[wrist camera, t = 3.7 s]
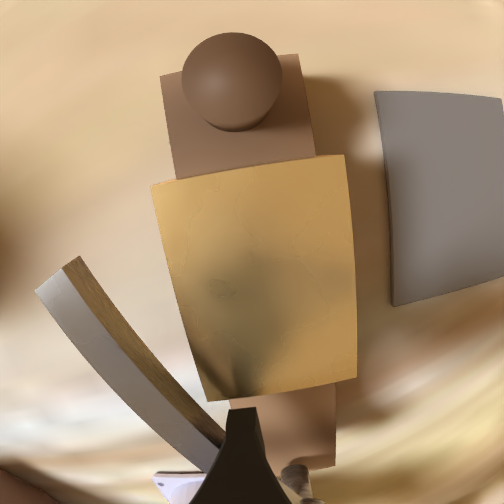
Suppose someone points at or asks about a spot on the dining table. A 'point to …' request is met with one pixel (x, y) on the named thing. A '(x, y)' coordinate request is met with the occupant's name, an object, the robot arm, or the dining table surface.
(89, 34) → the dining table surface
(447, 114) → the mat
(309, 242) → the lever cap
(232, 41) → the body
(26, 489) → the brown round pot
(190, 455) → the lever
